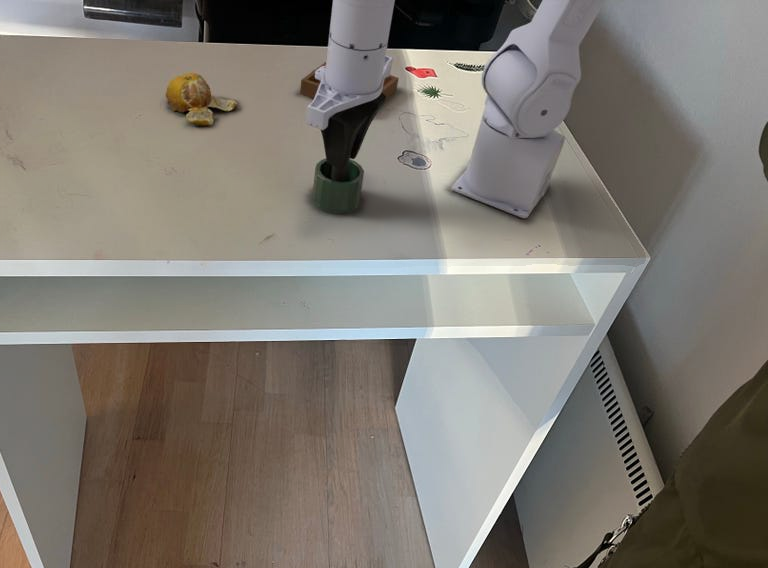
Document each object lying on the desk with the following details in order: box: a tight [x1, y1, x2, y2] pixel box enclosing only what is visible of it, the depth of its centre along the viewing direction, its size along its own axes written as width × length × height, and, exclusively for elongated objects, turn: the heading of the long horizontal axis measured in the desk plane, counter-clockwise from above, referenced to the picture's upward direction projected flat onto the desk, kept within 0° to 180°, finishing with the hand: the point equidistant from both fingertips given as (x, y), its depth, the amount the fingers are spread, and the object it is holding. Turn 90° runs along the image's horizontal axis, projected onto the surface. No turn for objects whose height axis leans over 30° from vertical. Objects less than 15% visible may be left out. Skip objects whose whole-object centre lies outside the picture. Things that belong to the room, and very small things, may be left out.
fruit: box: [165, 72, 238, 126], centre depth 97 cm, size 8×8×4 cm
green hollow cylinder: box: [311, 157, 365, 215], centre depth 85 cm, size 5×5×4 cm
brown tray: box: [299, 61, 399, 102], centre depth 103 cm, size 10×9×2 cm
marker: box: [331, 154, 351, 182], centre depth 83 cm, size 2×2×8 cm
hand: (341, 159), depth 82 cm, fingers closed on marker, 2 cm apart
